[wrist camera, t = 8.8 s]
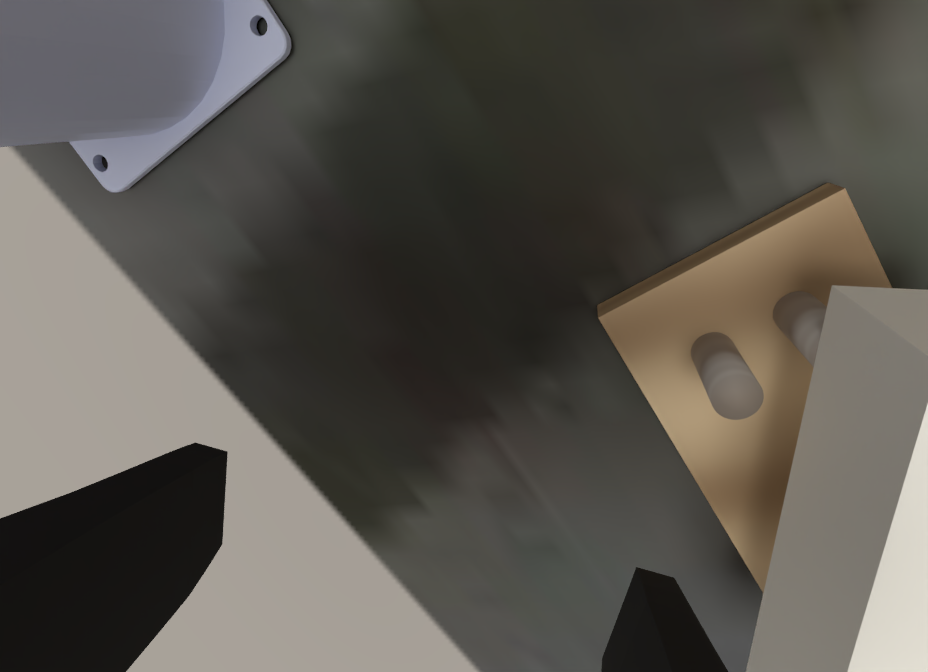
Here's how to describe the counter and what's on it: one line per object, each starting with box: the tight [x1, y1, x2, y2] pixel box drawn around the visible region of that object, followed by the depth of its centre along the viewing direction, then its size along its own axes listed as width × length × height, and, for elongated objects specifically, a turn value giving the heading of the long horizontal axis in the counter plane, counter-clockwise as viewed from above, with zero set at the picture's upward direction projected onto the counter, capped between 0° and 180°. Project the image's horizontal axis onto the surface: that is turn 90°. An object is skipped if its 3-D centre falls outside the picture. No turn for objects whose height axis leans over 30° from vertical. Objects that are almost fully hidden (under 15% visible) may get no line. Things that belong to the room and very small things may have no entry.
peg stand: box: [597, 183, 892, 593], centre depth 18 cm, size 14×7×4 cm, turn 33°
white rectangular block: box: [746, 285, 928, 672], centre depth 14 cm, size 12×4×4 cm, turn 0°
